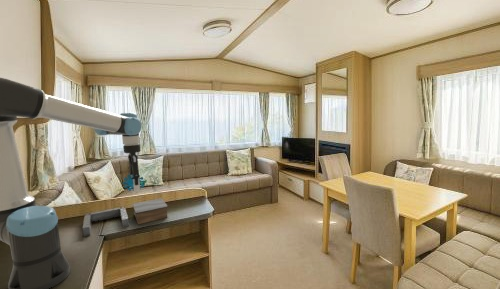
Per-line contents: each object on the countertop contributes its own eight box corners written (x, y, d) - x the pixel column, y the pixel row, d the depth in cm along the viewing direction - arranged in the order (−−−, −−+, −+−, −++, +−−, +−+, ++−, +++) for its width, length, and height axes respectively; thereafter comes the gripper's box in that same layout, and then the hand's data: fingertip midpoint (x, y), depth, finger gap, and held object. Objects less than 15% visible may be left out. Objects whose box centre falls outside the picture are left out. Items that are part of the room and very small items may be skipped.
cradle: (128, 226, 116) (128, 218, 116) (83, 236, 107) (82, 228, 106) (125, 213, 131) (124, 206, 131) (85, 221, 122) (84, 214, 121)
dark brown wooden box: (168, 217, 125) (167, 206, 124) (136, 224, 117) (135, 213, 117) (162, 208, 138) (161, 198, 137) (133, 214, 130) (132, 203, 129)
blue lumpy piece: (123, 190, 116) (122, 173, 121) (122, 196, 120) (121, 179, 125) (148, 189, 122) (146, 172, 127) (146, 195, 125) (144, 178, 131)
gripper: (143, 145, 113) (147, 192, 116) (136, 141, 130) (140, 182, 133) (125, 147, 109) (130, 196, 112) (121, 143, 126) (125, 185, 129)
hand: (135, 188), depth 123 cm, fingers closed on blue lumpy piece, 8 cm apart
